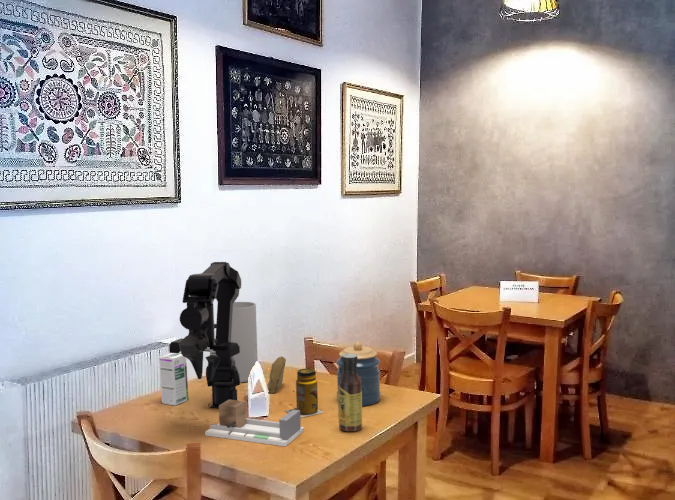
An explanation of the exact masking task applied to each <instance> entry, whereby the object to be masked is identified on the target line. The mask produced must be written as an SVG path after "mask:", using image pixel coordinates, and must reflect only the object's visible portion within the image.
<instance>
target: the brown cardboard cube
mask: <svg viewBox="0 0 675 500" xmlns="http://www.w3.org/2000/svg"><path fill="white" fill-rule="evenodd" d="M246 409H247V408H246V401H245V400H238V399H237V400H227V401H226V402H224V403H222V404H220V405H219V408H218V417H219V420H218V421H219V423H220V425H223V426H227V428H230V427H238V428H240V427H241V426H243V425H244V424H246V418H247V414H246Z"/></svg>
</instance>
